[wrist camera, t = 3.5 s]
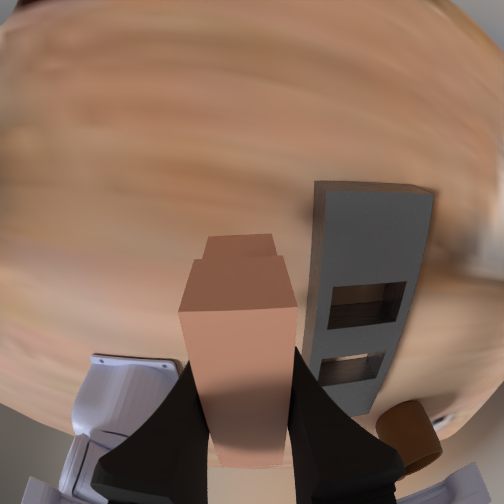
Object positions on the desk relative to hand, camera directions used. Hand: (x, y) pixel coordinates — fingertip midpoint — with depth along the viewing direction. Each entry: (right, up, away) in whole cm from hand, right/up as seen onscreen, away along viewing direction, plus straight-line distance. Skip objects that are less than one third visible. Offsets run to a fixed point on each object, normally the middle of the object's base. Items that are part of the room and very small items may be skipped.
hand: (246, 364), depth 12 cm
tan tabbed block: (0, +2, +4) cm, 4 cm away
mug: (+21, -20, +22) cm, 37 cm away
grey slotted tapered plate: (+9, -1, +12) cm, 15 cm away
